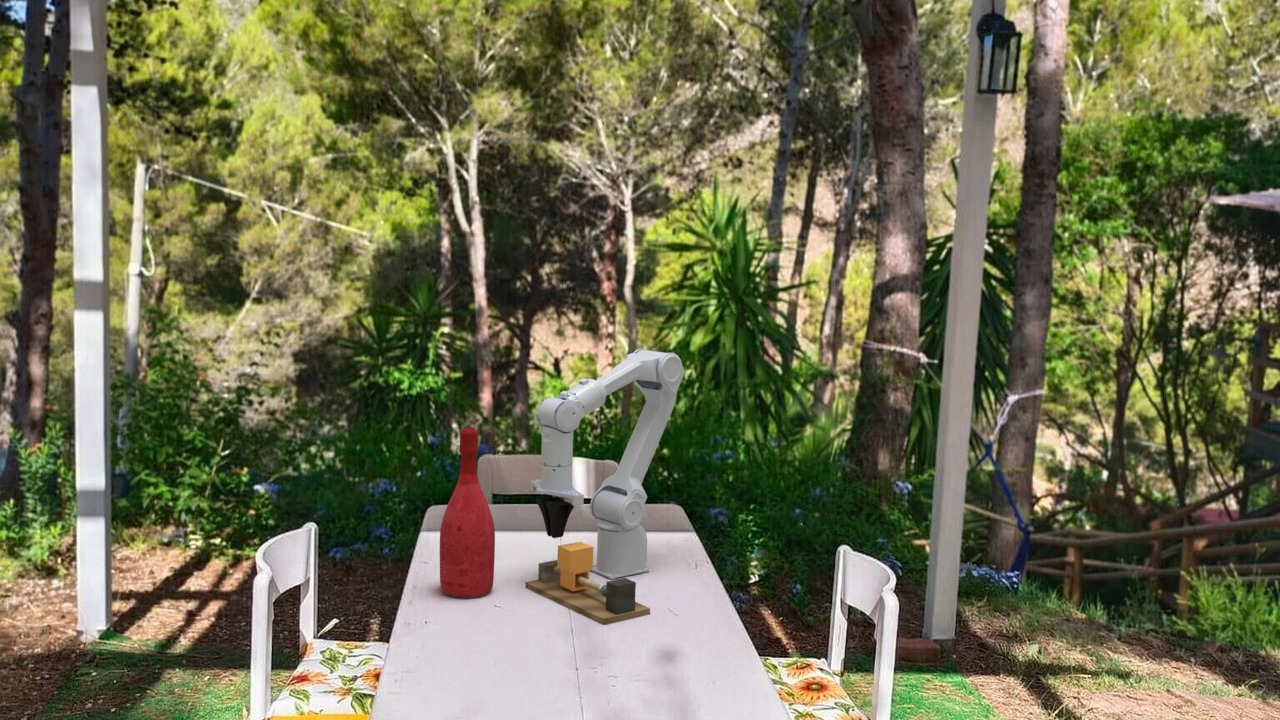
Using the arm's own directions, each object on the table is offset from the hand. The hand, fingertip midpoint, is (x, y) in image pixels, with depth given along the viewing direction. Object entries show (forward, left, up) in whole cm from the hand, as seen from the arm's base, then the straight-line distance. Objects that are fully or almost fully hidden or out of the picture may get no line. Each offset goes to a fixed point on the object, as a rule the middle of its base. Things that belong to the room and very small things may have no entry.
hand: (555, 536), depth 206 cm
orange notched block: (0, +7, -8) cm, 10 cm away
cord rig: (0, +10, -9) cm, 14 cm away
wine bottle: (+15, -6, -10) cm, 19 cm away
